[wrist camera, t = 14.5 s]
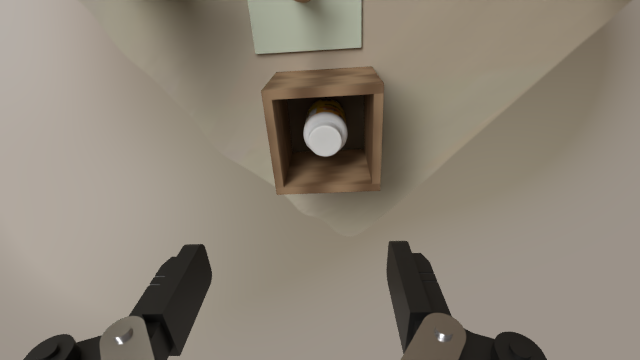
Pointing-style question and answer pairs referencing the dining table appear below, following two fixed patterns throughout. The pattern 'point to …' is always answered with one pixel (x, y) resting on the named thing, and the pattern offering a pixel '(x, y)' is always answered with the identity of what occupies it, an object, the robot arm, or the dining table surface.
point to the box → (307, 167)
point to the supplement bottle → (325, 127)
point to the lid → (305, 25)
